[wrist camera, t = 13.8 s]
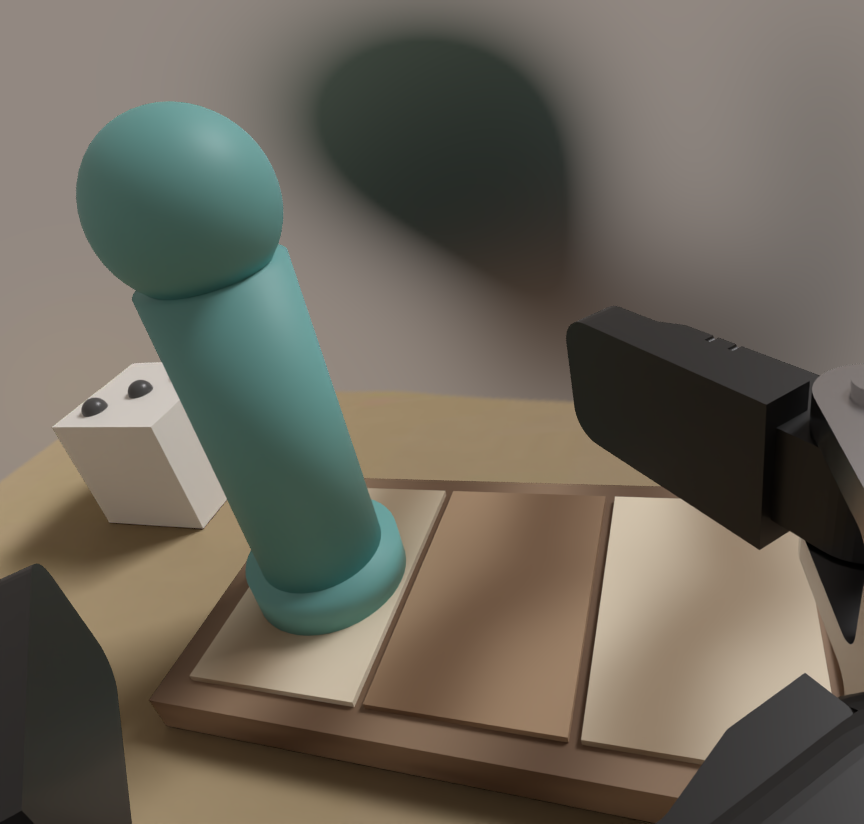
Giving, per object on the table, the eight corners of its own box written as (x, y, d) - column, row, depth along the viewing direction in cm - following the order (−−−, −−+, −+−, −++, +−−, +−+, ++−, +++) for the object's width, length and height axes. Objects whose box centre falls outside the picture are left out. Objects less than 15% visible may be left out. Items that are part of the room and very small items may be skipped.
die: (109, 522, 29) (45, 416, 27) (177, 452, 33) (128, 353, 30) (203, 528, 28) (144, 415, 25) (264, 453, 31) (219, 348, 29)
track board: (166, 725, 20) (145, 696, 19) (315, 499, 28) (304, 472, 27) (1300, 951, 11) (1341, 913, 10) (1053, 530, 19) (1066, 492, 18)
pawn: (230, 626, 21) (-28, 151, 14) (301, 518, 24) (129, 101, 17) (372, 644, 19) (164, 109, 12) (425, 526, 23) (292, 64, 15)
